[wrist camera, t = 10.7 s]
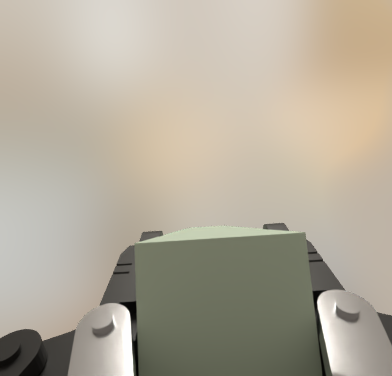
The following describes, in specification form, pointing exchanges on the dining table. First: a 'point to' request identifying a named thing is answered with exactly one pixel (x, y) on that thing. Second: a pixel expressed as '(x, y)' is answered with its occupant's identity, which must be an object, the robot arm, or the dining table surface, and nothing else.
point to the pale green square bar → (225, 304)
